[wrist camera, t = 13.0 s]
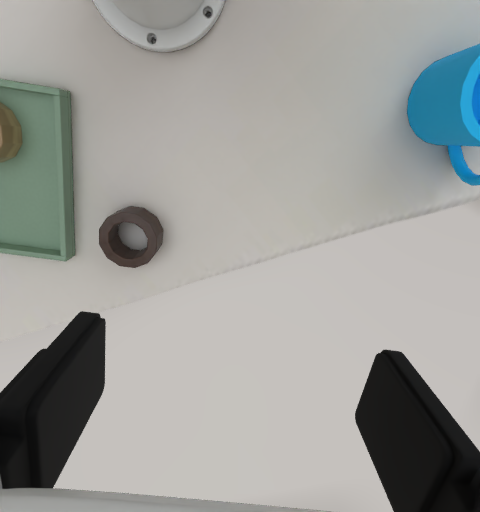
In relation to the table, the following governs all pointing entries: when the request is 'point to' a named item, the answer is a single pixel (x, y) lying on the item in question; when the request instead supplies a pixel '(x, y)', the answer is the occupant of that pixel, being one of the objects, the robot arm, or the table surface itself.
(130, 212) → the walnut ring
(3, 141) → the birch ring
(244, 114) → the table surface
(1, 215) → the tray
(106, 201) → the table surface
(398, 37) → the table surface
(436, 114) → the mug
